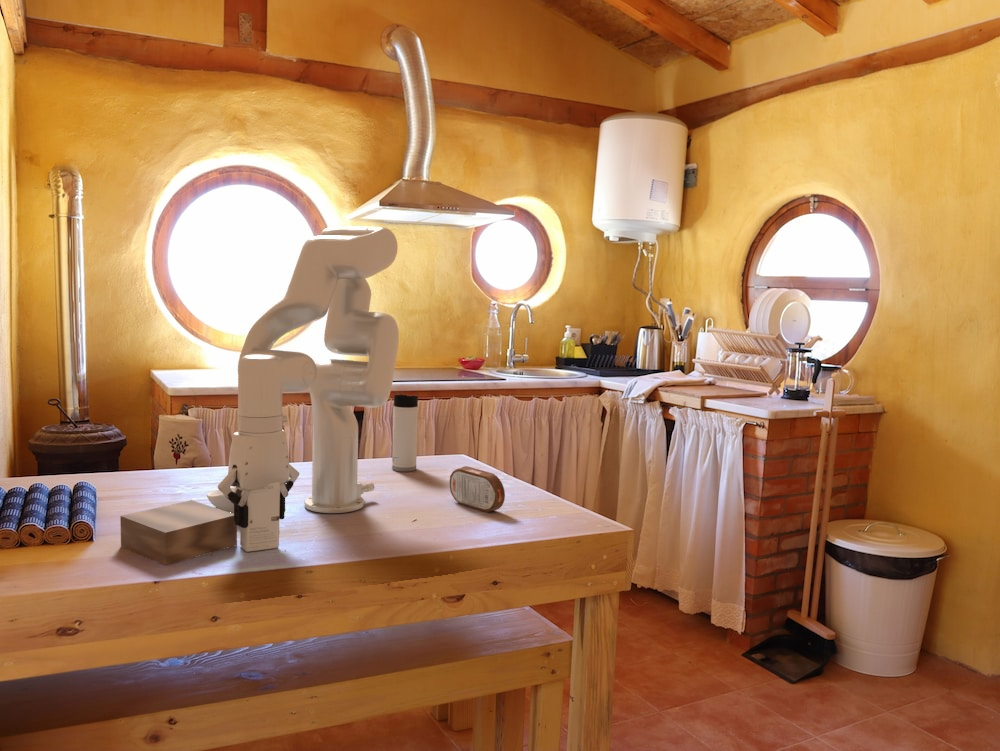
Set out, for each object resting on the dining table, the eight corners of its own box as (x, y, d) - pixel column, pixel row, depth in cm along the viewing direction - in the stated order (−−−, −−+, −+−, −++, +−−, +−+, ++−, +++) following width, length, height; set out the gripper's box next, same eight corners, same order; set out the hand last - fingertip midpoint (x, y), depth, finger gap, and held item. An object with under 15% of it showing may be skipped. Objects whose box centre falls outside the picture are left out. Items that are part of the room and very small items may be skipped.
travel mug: (388, 471, 204) (390, 394, 202) (396, 465, 210) (397, 390, 208) (412, 473, 203) (414, 395, 201) (418, 467, 209) (420, 392, 207)
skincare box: (246, 553, 140) (246, 486, 139) (239, 545, 144) (239, 480, 143) (280, 547, 144) (281, 482, 142) (273, 540, 147) (273, 476, 146)
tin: (505, 513, 171) (506, 475, 170) (495, 516, 168) (496, 477, 167) (456, 499, 181) (457, 462, 180) (446, 501, 178) (447, 464, 177)
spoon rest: (199, 506, 168) (199, 473, 167) (254, 499, 175) (254, 467, 174) (238, 537, 149) (238, 500, 148) (298, 527, 157) (298, 492, 156)
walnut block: (191, 530, 152) (191, 500, 152) (237, 546, 144) (236, 514, 144) (121, 548, 141) (120, 516, 140) (165, 567, 133) (165, 532, 132)
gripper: (289, 416, 150) (288, 508, 152) (203, 426, 137) (204, 527, 139) (313, 422, 145) (312, 516, 148) (227, 433, 132) (227, 537, 134)
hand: (260, 521), depth 143 cm, fingers closed on skincare box, 6 cm apart
